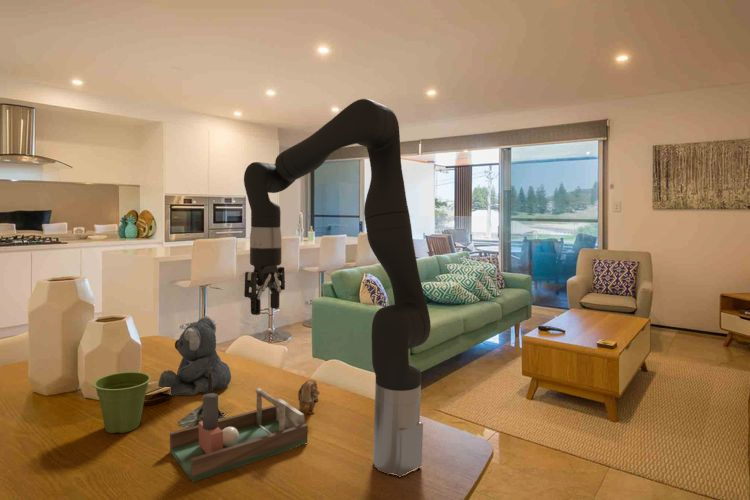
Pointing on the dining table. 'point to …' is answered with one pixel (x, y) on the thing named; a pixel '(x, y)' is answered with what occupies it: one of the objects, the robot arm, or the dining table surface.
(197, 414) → the eiffel tower figurine
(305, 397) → the lion figurine
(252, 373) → the dining table surface
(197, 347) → the koala plush
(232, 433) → the ball
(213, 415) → the striker
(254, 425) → the pitch
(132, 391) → the plant pot
